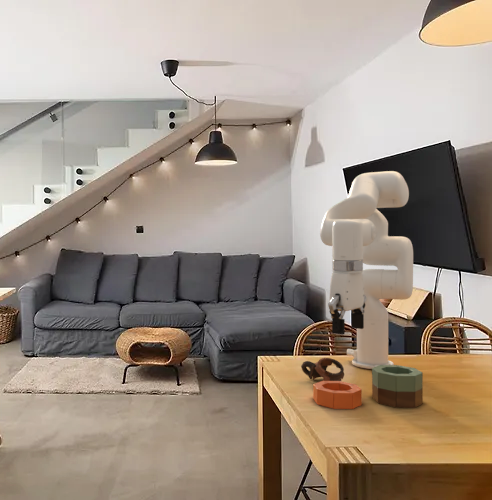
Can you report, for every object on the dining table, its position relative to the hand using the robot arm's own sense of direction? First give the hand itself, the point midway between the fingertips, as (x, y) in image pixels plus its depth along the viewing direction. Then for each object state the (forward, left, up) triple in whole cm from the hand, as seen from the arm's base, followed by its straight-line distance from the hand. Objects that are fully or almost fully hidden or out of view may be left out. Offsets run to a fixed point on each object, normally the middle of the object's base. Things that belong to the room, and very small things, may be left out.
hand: (348, 330), depth 142 cm
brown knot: (-12, +7, -18) cm, 23 cm away
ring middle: (+10, +6, -14) cm, 18 cm away
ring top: (0, -6, -18) cm, 19 cm away
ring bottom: (+10, +6, -18) cm, 21 cm away
